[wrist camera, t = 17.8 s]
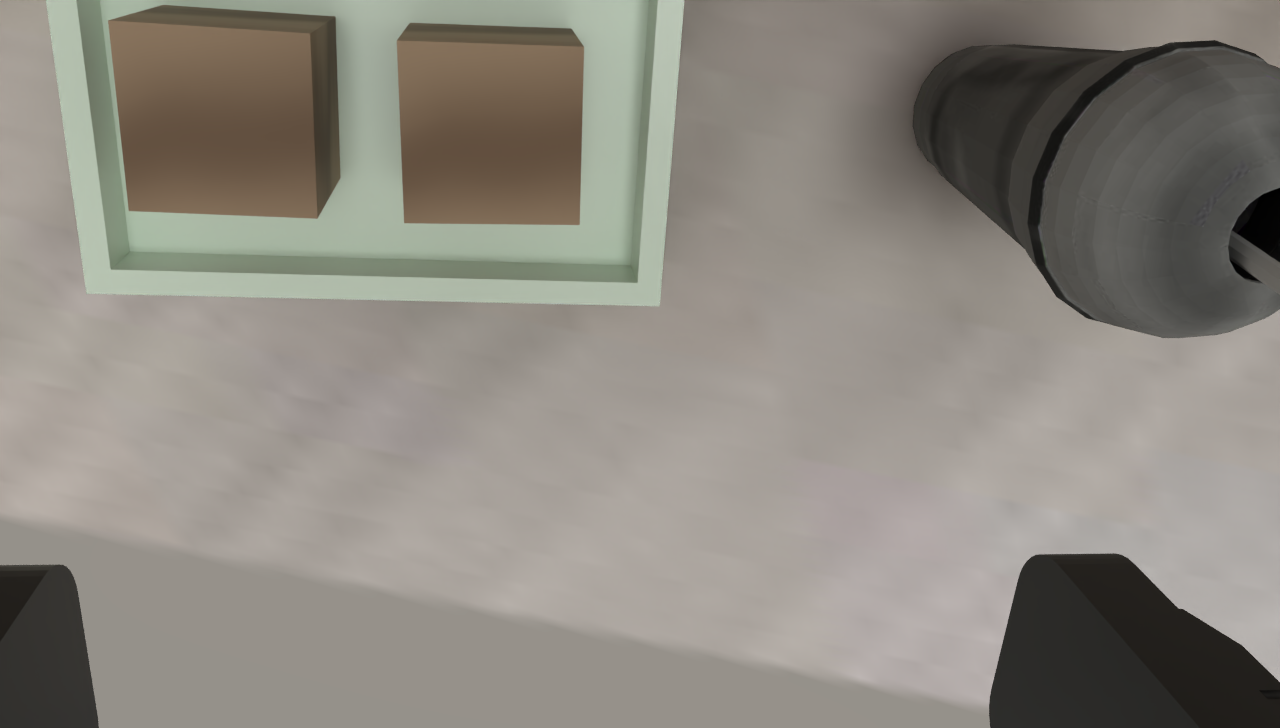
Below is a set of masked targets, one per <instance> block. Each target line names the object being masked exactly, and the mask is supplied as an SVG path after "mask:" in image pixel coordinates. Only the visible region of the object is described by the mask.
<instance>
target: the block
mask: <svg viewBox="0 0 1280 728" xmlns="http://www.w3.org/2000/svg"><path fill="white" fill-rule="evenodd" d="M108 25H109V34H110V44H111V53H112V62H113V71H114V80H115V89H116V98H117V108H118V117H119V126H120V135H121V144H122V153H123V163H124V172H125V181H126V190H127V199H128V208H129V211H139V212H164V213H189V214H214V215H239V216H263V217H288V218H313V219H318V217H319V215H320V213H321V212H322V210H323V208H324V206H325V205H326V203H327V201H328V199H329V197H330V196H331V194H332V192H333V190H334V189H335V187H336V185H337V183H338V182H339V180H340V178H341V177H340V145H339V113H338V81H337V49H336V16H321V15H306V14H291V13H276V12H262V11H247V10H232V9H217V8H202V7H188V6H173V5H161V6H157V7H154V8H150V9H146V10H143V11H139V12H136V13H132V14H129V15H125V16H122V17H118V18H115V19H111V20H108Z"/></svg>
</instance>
